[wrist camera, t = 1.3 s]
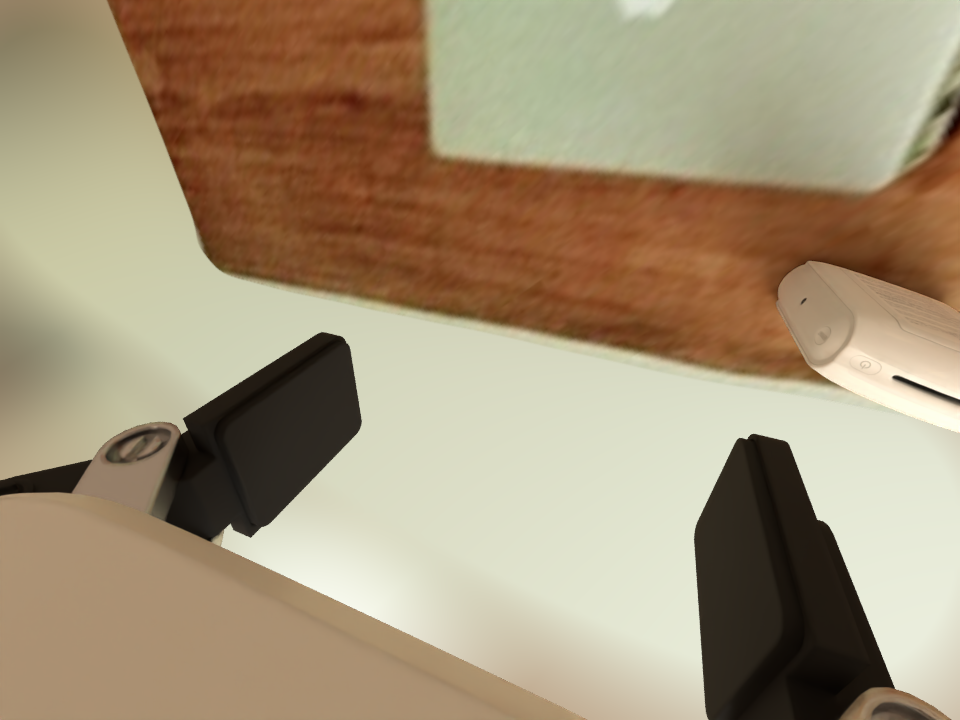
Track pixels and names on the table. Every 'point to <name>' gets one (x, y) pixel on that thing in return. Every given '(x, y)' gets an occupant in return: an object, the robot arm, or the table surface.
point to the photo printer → (876, 339)
